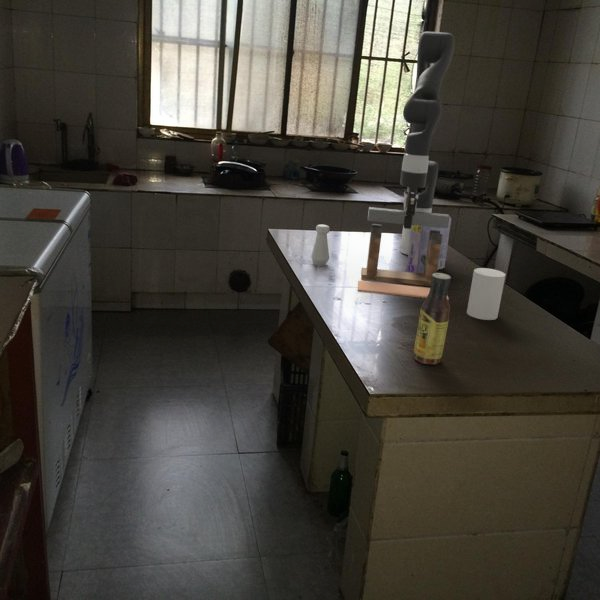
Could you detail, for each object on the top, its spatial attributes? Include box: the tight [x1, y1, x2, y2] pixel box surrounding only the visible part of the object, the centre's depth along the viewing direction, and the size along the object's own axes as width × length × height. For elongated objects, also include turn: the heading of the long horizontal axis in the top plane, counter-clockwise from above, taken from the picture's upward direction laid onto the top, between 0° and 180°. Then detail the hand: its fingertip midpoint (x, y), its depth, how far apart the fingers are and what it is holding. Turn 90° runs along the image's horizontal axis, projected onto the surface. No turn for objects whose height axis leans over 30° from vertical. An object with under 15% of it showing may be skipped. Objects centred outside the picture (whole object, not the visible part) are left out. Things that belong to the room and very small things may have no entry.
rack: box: [360, 223, 442, 287], centre depth 200 cm, size 24×8×16 cm, turn 85°
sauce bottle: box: [413, 272, 452, 366], centre depth 140 cm, size 6×6×20 cm
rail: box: [367, 206, 451, 228], centre depth 196 cm, size 24×3×4 cm, turn 85°
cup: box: [466, 267, 506, 321], centre depth 175 cm, size 8×8×12 cm
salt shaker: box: [310, 224, 331, 267], centre depth 210 cm, size 6×6×13 cm
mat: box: [357, 280, 450, 301], centre depth 191 cm, size 26×9×1 cm, turn 85°
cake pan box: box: [405, 216, 452, 274], centre depth 212 cm, size 19×5×18 cm, turn 139°
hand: (406, 226), depth 197 cm, fingers closed on rail, 3 cm apart
